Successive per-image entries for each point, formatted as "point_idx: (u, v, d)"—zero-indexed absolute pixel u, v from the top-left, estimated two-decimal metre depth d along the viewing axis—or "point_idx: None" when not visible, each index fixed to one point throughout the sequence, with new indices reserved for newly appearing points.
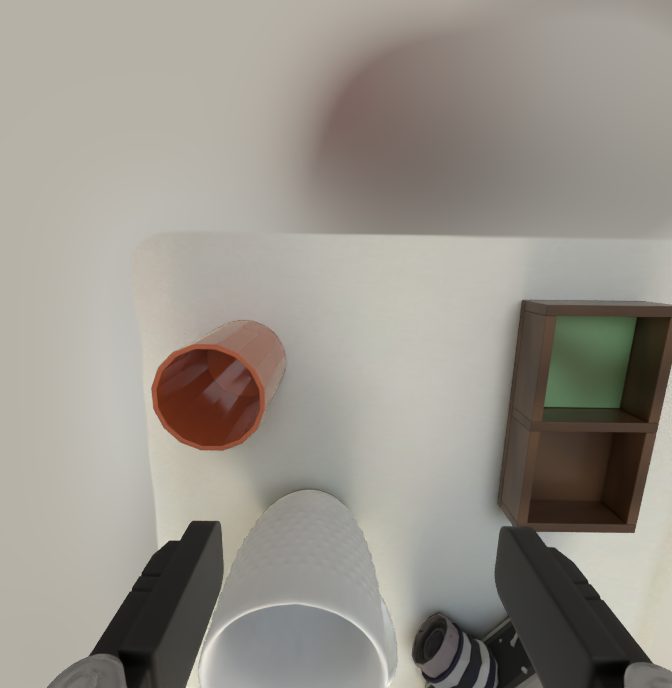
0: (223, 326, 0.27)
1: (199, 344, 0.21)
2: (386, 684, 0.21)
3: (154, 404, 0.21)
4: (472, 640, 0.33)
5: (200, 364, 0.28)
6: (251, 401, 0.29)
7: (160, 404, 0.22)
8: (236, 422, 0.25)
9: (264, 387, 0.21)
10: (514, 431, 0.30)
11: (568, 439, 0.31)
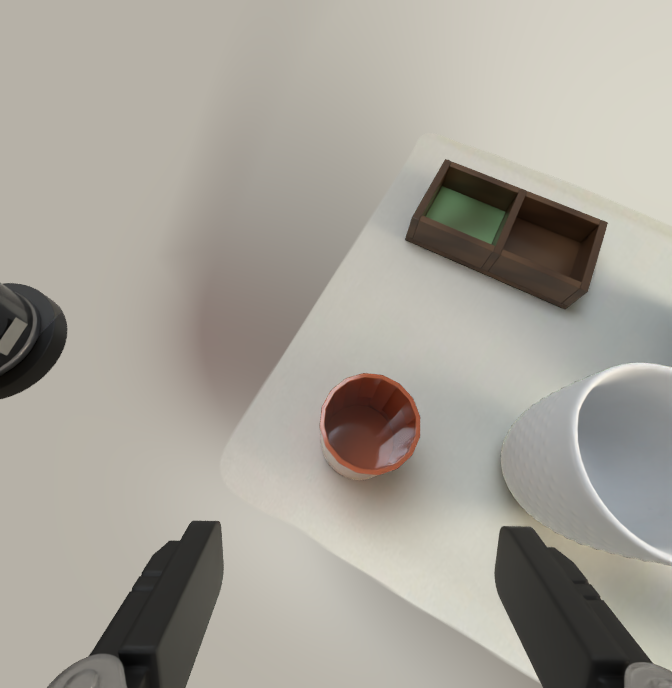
0: None
1: (324, 402, 0.24)
2: None
3: (353, 469, 0.23)
4: None
5: None
6: (395, 445, 0.30)
7: None
8: (405, 442, 0.27)
9: (381, 376, 0.26)
10: (501, 272, 0.38)
11: (520, 245, 0.40)
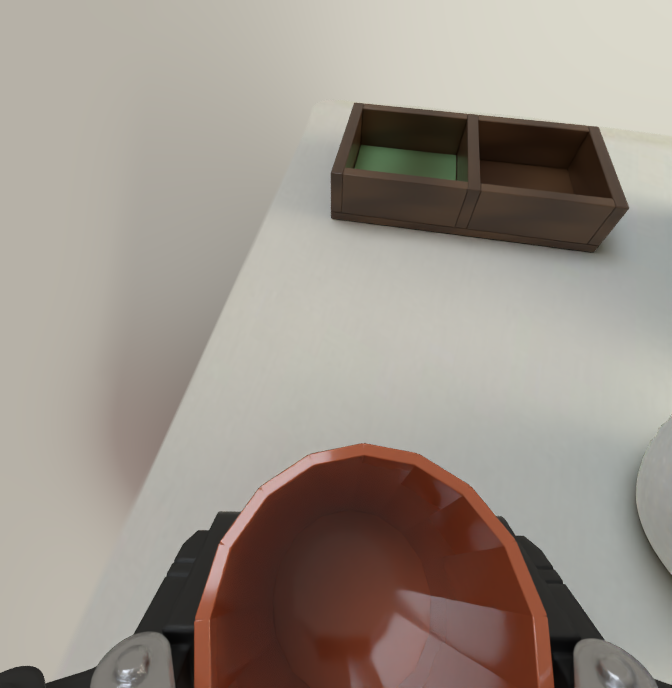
0: None
1: (202, 598, 0.07)
2: None
3: None
4: None
5: None
6: (437, 590, 0.13)
7: None
8: (474, 605, 0.10)
9: (362, 447, 0.09)
10: (486, 222, 0.25)
11: None
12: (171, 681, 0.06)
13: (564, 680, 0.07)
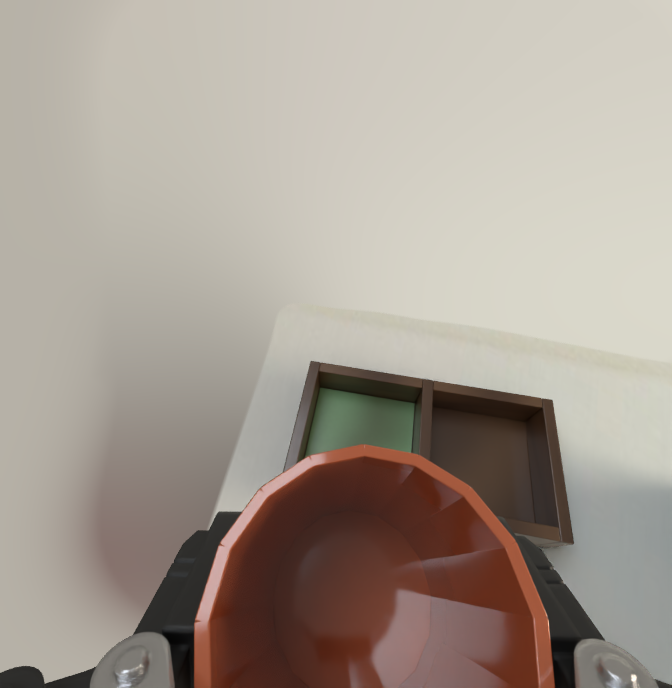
0: None
1: (202, 600, 0.07)
2: None
3: None
4: None
5: None
6: (437, 591, 0.13)
7: None
8: (475, 606, 0.10)
9: (362, 447, 0.09)
10: None
11: (450, 454, 0.28)
12: (171, 681, 0.06)
13: (564, 680, 0.07)
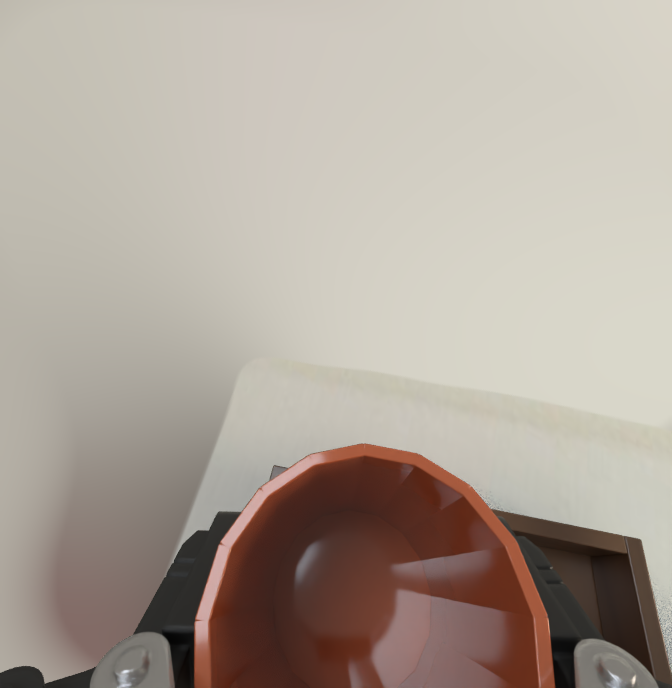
0: None
1: (202, 599, 0.07)
2: None
3: None
4: None
5: None
6: (437, 590, 0.13)
7: None
8: (475, 605, 0.10)
9: (362, 447, 0.09)
10: None
11: None
12: (171, 681, 0.06)
13: (564, 680, 0.07)
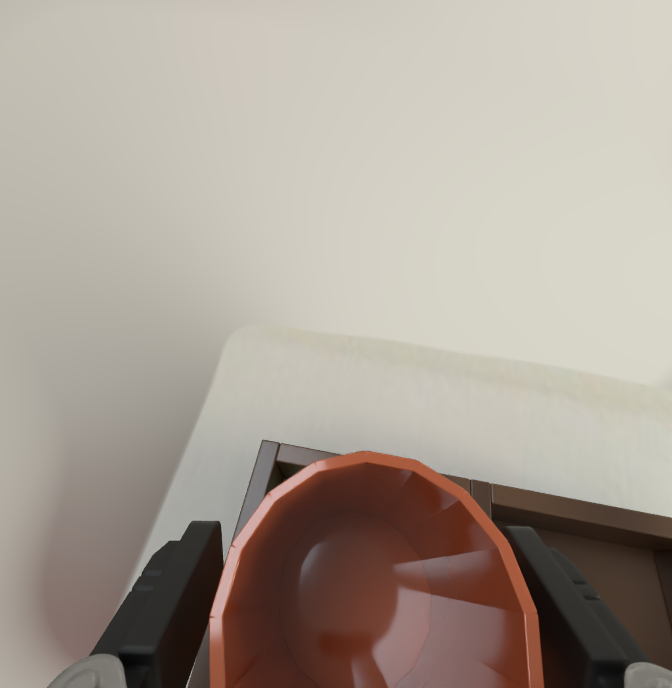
0: None
1: (216, 597, 0.08)
2: None
3: None
4: None
5: None
6: (437, 589, 0.13)
7: None
8: (471, 602, 0.10)
9: (364, 453, 0.09)
10: None
11: None
12: None
13: None
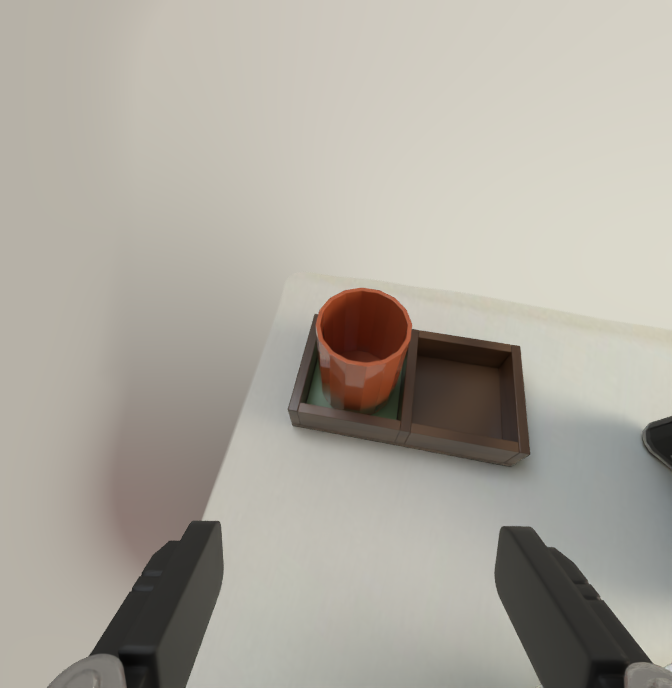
0: (319, 373, 0.31)
1: (316, 321, 0.25)
2: None
3: (362, 364, 0.24)
4: None
5: None
6: None
7: None
8: None
9: (361, 290, 0.27)
10: (419, 444, 0.29)
11: (432, 393, 0.33)
12: None
13: None
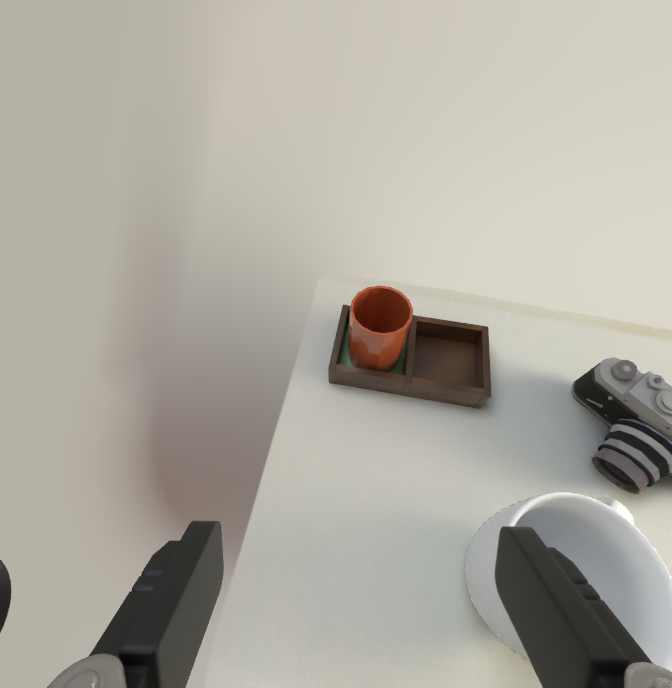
0: (348, 345, 0.44)
1: None
2: (581, 495, 0.26)
3: (381, 334, 0.37)
4: (606, 437, 0.39)
5: None
6: None
7: None
8: None
9: (379, 287, 0.41)
10: (417, 392, 0.43)
11: (427, 360, 0.46)
12: None
13: None
